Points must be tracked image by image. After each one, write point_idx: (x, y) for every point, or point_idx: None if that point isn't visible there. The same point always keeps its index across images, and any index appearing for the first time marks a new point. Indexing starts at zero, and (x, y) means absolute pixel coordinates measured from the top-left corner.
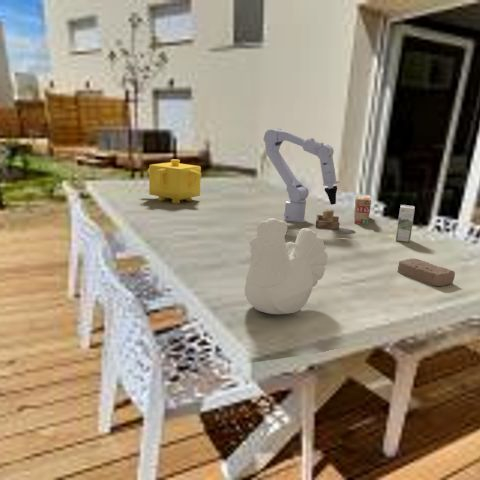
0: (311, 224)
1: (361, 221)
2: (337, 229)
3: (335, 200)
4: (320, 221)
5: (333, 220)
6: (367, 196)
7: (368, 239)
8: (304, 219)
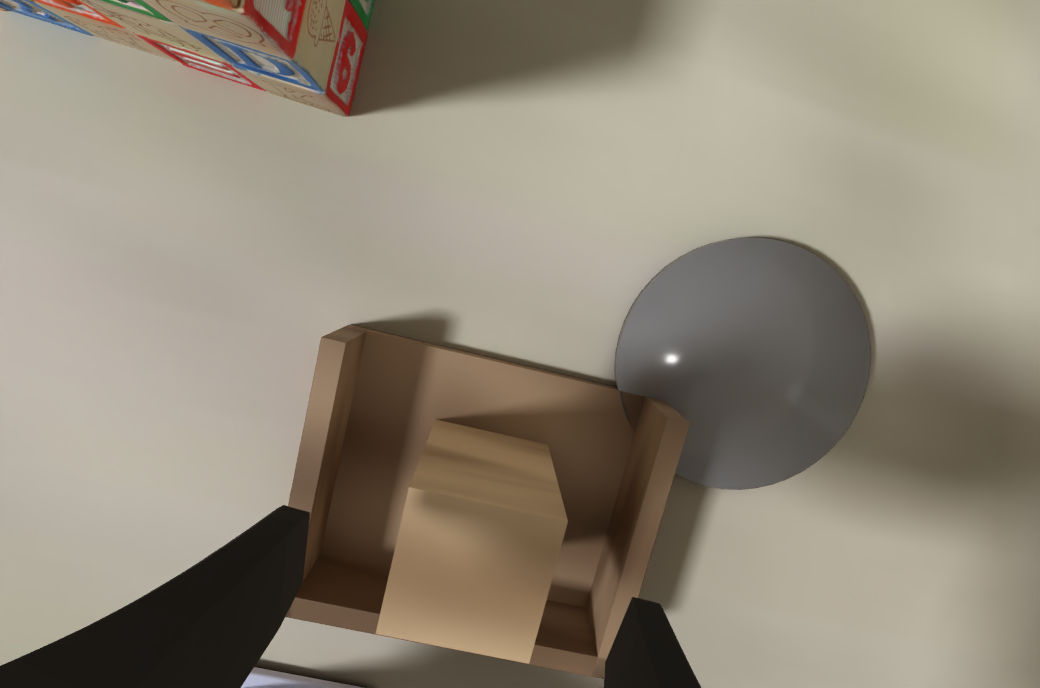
0: None
1: (354, 12)
2: None
3: (685, 666)
4: None
5: (347, 393)
6: None
7: (1012, 169)
8: (252, 682)
